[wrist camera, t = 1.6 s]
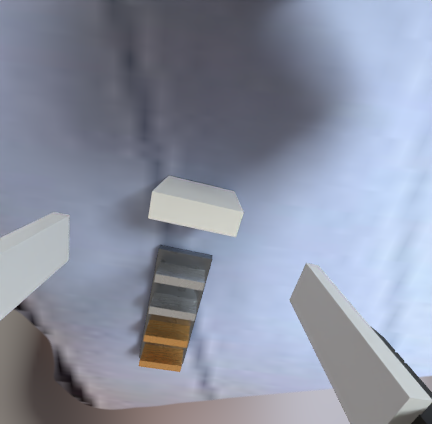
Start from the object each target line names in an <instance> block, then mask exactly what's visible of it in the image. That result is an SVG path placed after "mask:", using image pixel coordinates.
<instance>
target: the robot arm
mask: <svg viewBox="0 0 432 424" xmlns="http://www.w3.org/2000/svg"><path fill="white" fill-rule="evenodd" d="M68 261H69V215H66V214H61V213H57V212H52V213H50V214H48V215H46V216H44V217H42V218H40V219H38V220H36V221H34V222H32V223H30V224H27V225H25V226H23V227H21V228H19V229H17V230H15V231H13V232H11V233H9V234H7V235H5V236H3V237H0V321H1V319H3V318H4V317H5V316H6V315H7V314H9V313H10V312H11V311H12V310H13V309H14V308H15V307H16V306H18V305H19V304H20V303H21V302H22V301H23V300H24V299H26V298H27V297H28V296H29V295H30V294H31V293H32V292H34V291H35V290H36V289H37V288H38V287H39V286H40V285H42V284H43V283H44V282H45V281H46V280H47V279H48V278H49V277H51V276H52V275H53V274H54V273H55V272H56V271H57V270H59V269H60V268H61V267H62V266H63V265H64V264H65V263H67V262H68ZM290 302H291V304H292V306H293V308H294V310H295V312H296V314H297V316H298V318H299V320H300V322H301V324H302V326H303V329H304V331H305V333H306V335H307V337H308V339H309V341H310V343H311V345H312V347H313V349H314V351H315V353H316V355H317V357H318V359H319V361H320V363H321V365H322V367H323V369H324V371H325V373H326V375H327V377H328V379H329V381H330V383H331V385H332V387H333V389H334V391H335V393H336V395H337V397H338V400H339V402H340V403H341V406H342V408H343V410H344V412H345V414H346V416H347V418H348V420H349V422H350V424H432V392H431V391H430V390H429V389H428V388H427V387H426V385H425V384H424V383H423V382H422V381H421V379H420V378H419V377H418V376H417V375H416V374H415V373H414V371H413V370H412V369H411V368H410V367H409V366H408V365H407V364H406V363H404V360H403V359H402V358H401V357H400V355H399V354H398V353H396V352H395V350H394V349H393V347H392V346H391V345H390V344H389V343H388V342H387V340H386V339H385V338H384V337H383V336H381V335H380V334H379V333H378V332H377V331H376V330H374V329H373V328H372V327H370V326H369V325H368V323H367V322H366V321H365V320H364V319H363V318H362V316H361V315H360V314H359V313H358V312H357V310H356V309H355V308H354V307H353V306H352V305H351V303H350V302H349V301H348V300H347V299H346V298H345V296H344V295H343V294H342V293H341V292H340V290H339V289H338V288H337V287H336V286H335V285H334V283H333V282H332V281H331V280H330V279H329V278H328V276H327V275H326V274H325V273H324V272H323V270H322V269H321V268H320V267H319V266H318V265H313V264H308V263H306V265H305V267H304V269H303V271H302V273H301V276H300V278H299V280H298V282H297V284H296V287H295V289H294V291H293V293H292V296H291V298H290Z"/></svg>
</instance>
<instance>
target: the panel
mask: <svg viewBox="0 0 432 424" xmlns="http://www.w3.org/2000/svg"><path fill="white" fill-rule="evenodd" d="M243 213H244V212H243V209H242V207H241V205H240V203H239V201H238V198H237V196H236V194H235V192H234V191H231V190H227V189H223V188H219V187H215V186H211V185H206V184H202V183H198V182H194V181H190V180H186V179H181V178H177V177H173V176H168V177H167V178H166V179H164V180H163V181H162V182H161V183H160V184H159V185H158V186H157V187H156V188H155V189H154V190H153V191H152V196H151V202H150V209H149V215H148V219H153V220H158V221H162V222H167V223H172V224H177V225H181V226H186V227H191V228H195V229H200V230H205V231H209V232H214V233H219V234H223V235H228V236H233V237H236V236H237V232H238V229H239V226H240V223H241V220H242V217H243Z"/></svg>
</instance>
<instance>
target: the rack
mask: <svg viewBox="0 0 432 424" xmlns="http://www.w3.org/2000/svg"><path fill="white" fill-rule="evenodd" d="M211 262H212V255H208V254H203V253H198V252H193V251H188V250H183V249H178V248H173V247H168V246H163V245H160V247H159V250H158V255H157V261H156V266H155V272H154V277H153V283H152V289H151V294H150V300H149V305H148V311H147V316H146V322H145V327H144V333H143V339H142V344H141V350H140V355H139V358H140V362H139V366H141V367H148V368H156V369H163V370H171V371H178V372H180V370H181V366H182V364H183V361H184V358H185V354H186V351H187V347H188V344H189V340H190V337H191V333H192V329H193V326H194V322H195V319H196V315H197V312H198V308H199V305H200V301H201V298H202V294H203V290H204V287H205V283H206V280H207V276H208V273H209V269H210V266H211Z"/></svg>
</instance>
